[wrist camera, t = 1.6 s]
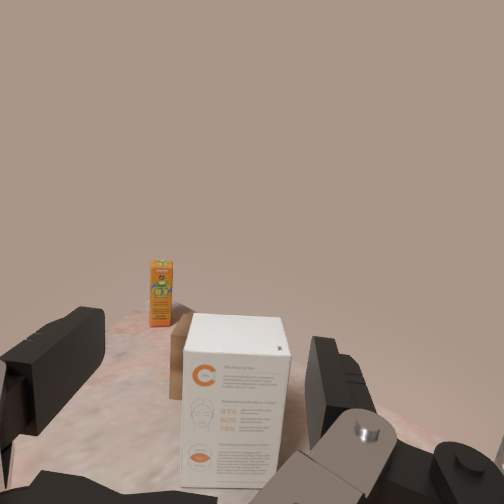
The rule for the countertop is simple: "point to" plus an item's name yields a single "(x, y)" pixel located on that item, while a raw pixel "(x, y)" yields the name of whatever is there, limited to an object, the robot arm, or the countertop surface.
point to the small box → (233, 400)
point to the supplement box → (161, 292)
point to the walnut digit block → (178, 356)
